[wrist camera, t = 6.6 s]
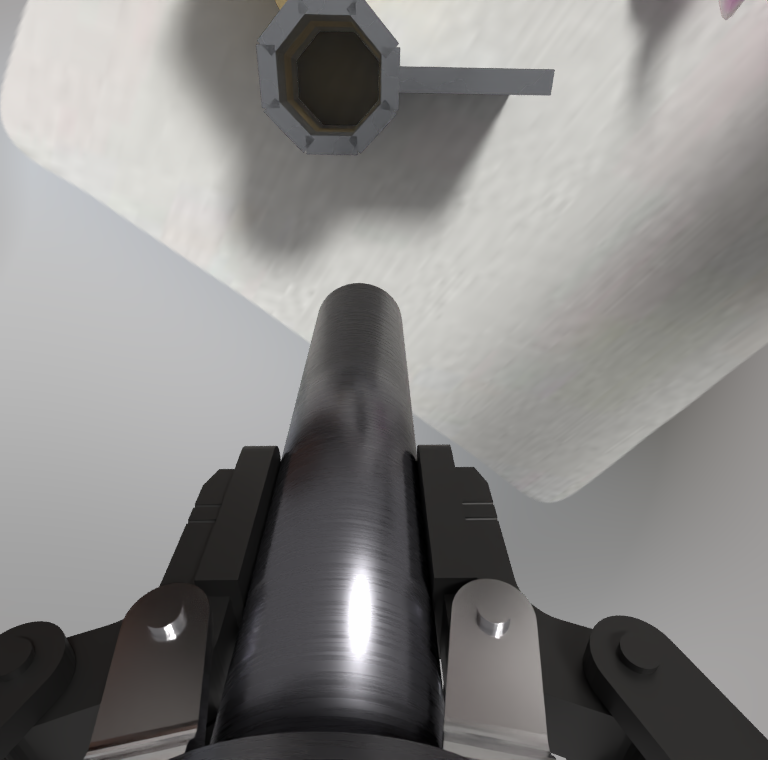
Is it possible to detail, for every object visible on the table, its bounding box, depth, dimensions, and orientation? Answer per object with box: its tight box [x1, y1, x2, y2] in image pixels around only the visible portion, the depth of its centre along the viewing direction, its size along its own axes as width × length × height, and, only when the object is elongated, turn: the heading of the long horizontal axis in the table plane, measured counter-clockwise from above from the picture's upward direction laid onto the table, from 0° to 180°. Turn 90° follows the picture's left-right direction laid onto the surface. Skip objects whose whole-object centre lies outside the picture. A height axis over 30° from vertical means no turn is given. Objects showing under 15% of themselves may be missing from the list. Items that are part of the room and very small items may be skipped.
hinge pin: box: [168, 283, 470, 760], centre depth 12 cm, size 5×5×16 cm
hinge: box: [256, 0, 555, 155], centre depth 24 cm, size 15×12×8 cm
